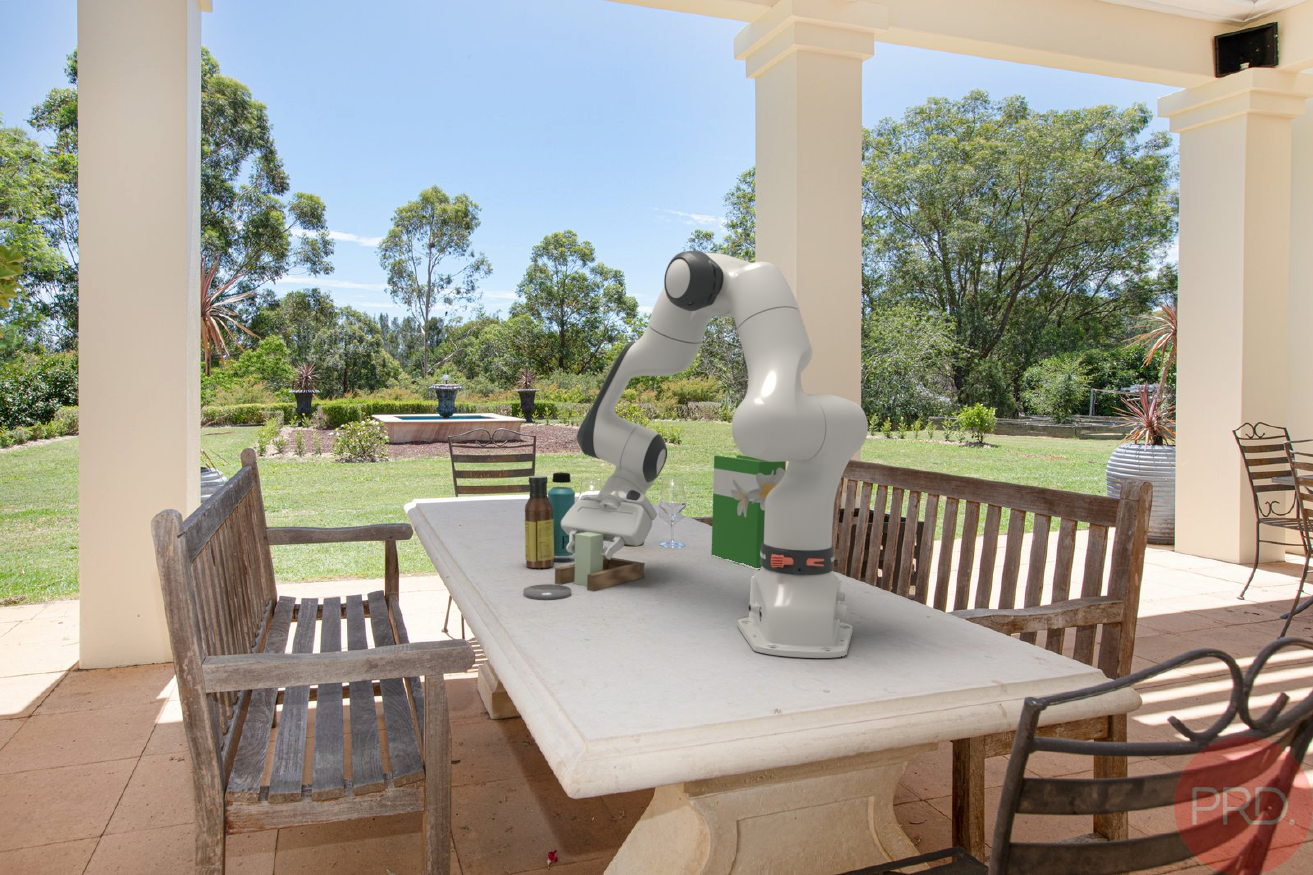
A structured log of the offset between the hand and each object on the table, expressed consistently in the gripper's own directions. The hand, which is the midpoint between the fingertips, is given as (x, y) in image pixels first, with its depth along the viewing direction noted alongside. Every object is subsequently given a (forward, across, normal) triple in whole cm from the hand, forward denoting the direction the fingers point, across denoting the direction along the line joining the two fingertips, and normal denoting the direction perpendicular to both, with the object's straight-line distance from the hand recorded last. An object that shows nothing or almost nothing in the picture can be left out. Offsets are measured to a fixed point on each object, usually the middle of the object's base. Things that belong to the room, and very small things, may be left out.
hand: (587, 554), depth 170 cm
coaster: (+12, 0, -4) cm, 13 cm away
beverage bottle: (-6, -20, +14) cm, 25 cm away
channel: (+2, 0, +7) cm, 7 cm away
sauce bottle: (0, -18, +8) cm, 20 cm away
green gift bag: (-25, +12, +34) cm, 44 cm away
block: (+4, 0, +5) cm, 6 cm away
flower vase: (-5, +36, +14) cm, 39 cm away
